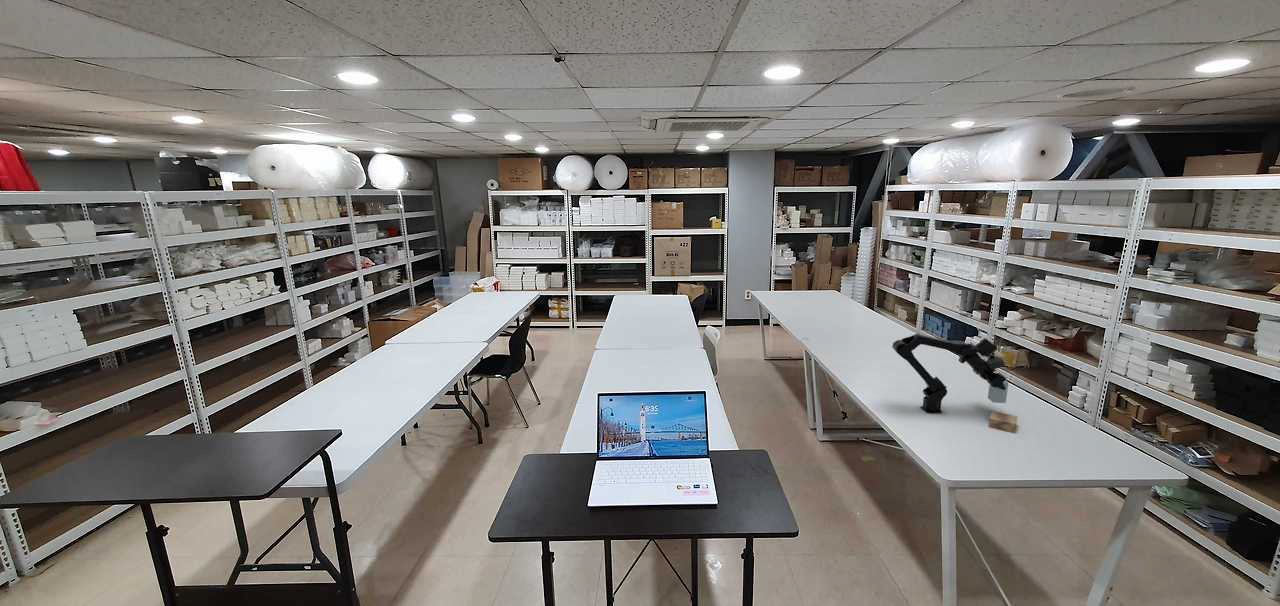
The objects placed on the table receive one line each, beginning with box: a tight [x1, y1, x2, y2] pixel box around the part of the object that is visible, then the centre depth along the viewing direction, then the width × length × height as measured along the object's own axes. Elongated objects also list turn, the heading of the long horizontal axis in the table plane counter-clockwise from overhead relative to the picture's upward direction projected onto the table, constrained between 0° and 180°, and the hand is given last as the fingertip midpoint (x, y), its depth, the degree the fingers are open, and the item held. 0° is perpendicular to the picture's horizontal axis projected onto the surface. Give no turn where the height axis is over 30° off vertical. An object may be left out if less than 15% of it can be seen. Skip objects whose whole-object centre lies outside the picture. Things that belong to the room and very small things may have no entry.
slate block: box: [987, 379, 1009, 404], centre depth 214 cm, size 5×5×10 cm
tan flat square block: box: [988, 410, 1018, 433], centre depth 204 cm, size 9×9×4 cm
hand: (1001, 387), depth 213 cm, fingers closed on slate block, 5 cm apart
